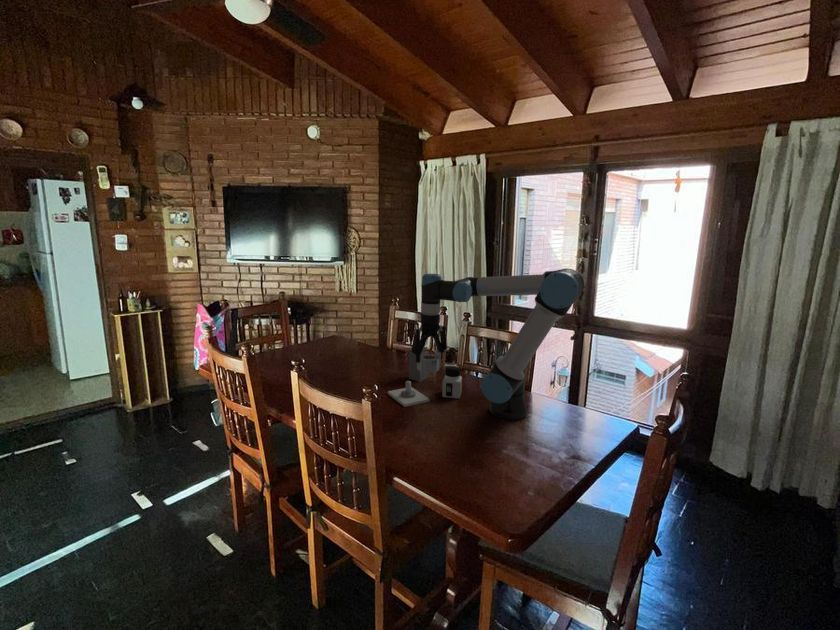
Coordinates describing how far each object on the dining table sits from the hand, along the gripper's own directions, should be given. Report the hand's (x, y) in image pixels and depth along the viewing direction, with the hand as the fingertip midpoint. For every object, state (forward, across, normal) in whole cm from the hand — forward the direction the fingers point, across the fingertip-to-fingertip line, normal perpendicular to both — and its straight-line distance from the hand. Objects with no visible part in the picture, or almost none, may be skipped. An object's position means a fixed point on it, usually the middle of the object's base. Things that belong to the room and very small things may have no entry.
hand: (428, 368), depth 177 cm
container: (+18, -17, -8) cm, 26 cm away
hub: (0, 0, 0) cm, 0 cm away
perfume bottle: (+18, -15, -33) cm, 40 cm away
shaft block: (+17, +2, -14) cm, 22 cm away
